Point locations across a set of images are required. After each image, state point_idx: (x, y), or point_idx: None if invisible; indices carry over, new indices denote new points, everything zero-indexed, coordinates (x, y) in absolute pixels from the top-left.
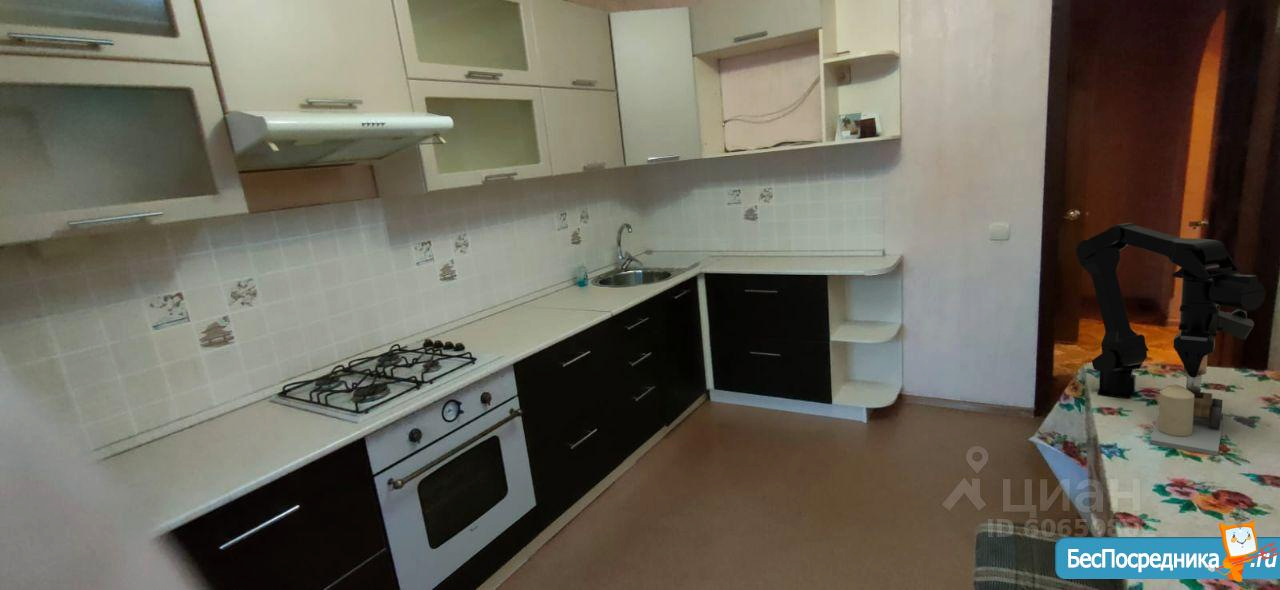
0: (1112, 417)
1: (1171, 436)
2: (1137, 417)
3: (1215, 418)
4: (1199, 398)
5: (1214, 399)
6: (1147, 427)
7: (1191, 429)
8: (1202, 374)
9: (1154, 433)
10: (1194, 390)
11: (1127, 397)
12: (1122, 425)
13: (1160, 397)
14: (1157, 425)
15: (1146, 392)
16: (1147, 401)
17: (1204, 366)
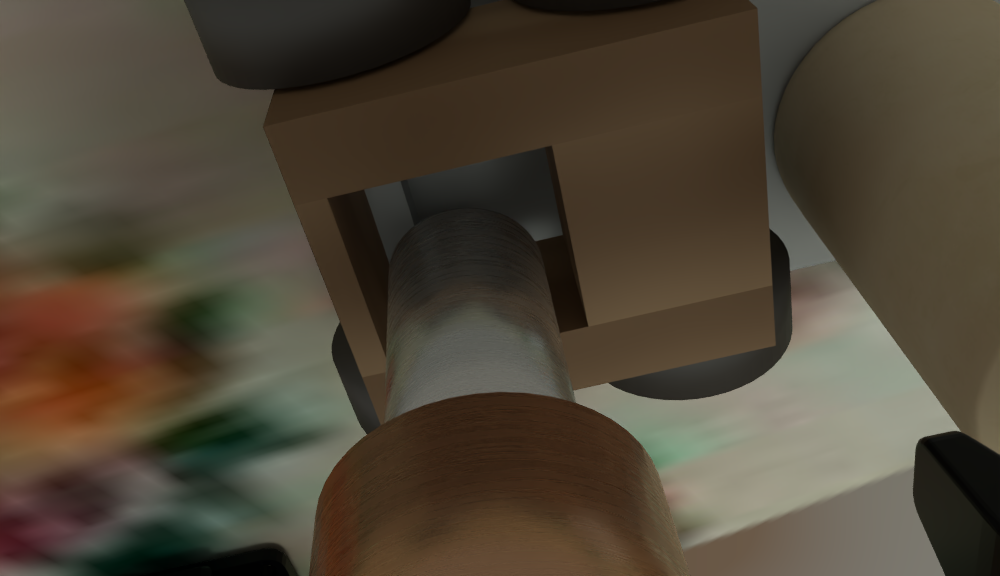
0: (715, 483)
1: None
2: (619, 393)
3: None
4: (566, 174)
5: (330, 55)
6: (792, 286)
7: (969, 2)
8: (590, 412)
9: None
10: (545, 287)
11: (284, 561)
12: (838, 399)
13: None
14: (823, 247)
15: (34, 528)
16: (226, 462)
17: (584, 541)
